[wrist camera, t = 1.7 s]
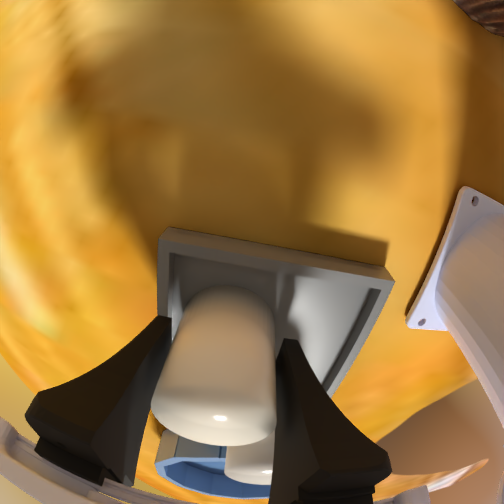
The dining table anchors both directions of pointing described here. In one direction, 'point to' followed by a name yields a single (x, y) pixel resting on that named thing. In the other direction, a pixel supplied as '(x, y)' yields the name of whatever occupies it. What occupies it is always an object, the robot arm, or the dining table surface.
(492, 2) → the cupcake
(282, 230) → the dining table surface
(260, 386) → the white rounded capsule
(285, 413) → the robot arm
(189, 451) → the bowl
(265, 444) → the cylinder
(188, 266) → the tray
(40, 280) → the dining table surface
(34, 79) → the dining table surface
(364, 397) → the dining table surface
